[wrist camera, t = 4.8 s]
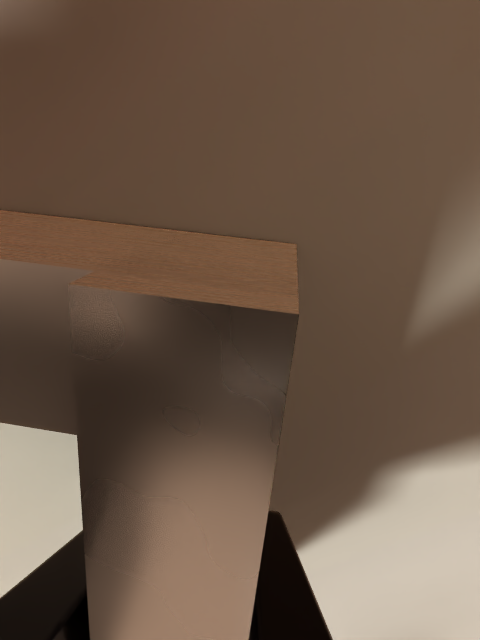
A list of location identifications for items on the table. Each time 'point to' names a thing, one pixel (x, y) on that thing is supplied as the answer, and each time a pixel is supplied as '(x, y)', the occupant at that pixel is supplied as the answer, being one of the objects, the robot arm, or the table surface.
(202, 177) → the table surface
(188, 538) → the pale grey angled bracket
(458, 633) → the table surface
